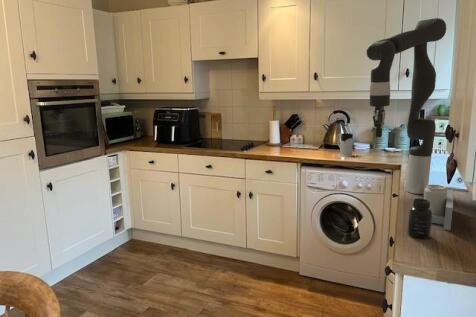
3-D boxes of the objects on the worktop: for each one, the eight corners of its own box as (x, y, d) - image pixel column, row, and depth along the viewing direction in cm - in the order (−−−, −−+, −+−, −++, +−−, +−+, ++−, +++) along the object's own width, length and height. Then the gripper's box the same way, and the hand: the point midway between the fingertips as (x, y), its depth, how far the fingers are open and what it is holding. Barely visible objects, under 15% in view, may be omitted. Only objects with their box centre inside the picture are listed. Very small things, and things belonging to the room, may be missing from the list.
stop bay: (424, 205, 151) (426, 187, 149) (450, 209, 146) (453, 190, 144) (419, 225, 130) (421, 203, 129) (450, 230, 126) (452, 208, 124)
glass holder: (345, 157, 249) (346, 135, 246) (331, 153, 262) (332, 132, 259) (355, 156, 253) (356, 134, 250) (341, 152, 265) (342, 132, 262)
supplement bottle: (405, 230, 126) (408, 196, 124) (427, 232, 124) (431, 198, 122) (408, 238, 120) (412, 202, 117) (432, 240, 118) (435, 204, 115)
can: (438, 213, 142) (441, 183, 139) (448, 220, 134) (452, 189, 132) (418, 213, 142) (421, 183, 140) (427, 220, 135) (430, 189, 132)
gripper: (386, 95, 139) (385, 140, 143) (392, 92, 150) (391, 134, 154) (366, 95, 143) (365, 139, 147) (373, 92, 154) (372, 133, 158)
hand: (378, 136), depth 150 cm, fingers closed
